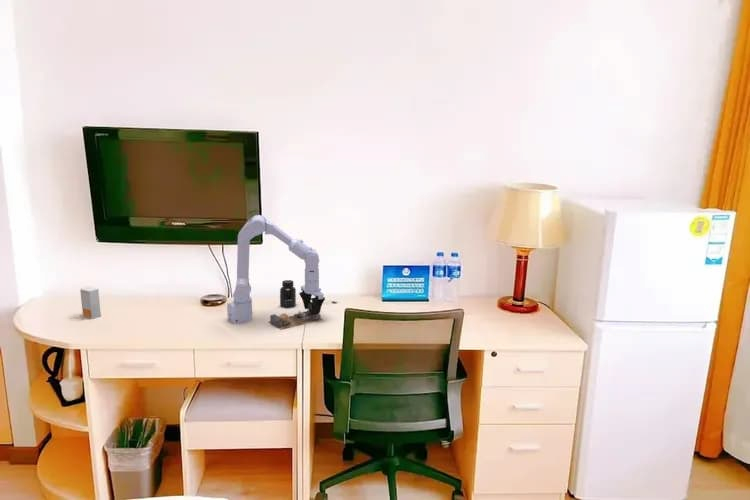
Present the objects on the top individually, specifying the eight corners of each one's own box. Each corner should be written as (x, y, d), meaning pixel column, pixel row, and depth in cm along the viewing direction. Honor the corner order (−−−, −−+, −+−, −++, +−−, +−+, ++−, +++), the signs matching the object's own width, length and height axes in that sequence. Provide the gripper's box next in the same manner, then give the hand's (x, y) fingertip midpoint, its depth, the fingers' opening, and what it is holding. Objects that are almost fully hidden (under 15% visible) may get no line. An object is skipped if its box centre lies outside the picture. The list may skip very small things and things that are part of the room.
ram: (303, 320, 227) (303, 306, 226) (298, 317, 230) (298, 304, 229) (318, 316, 232) (318, 303, 230) (313, 313, 235) (313, 300, 233)
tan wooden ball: (281, 325, 221) (281, 316, 220) (276, 322, 224) (276, 313, 224) (290, 323, 224) (290, 314, 223) (285, 320, 227) (285, 311, 226)
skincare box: (82, 316, 230) (79, 288, 228) (91, 313, 234) (89, 286, 231) (92, 319, 228) (89, 291, 225) (101, 316, 231) (98, 288, 228)
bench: (280, 332, 218) (280, 321, 217) (267, 323, 226) (267, 313, 225) (323, 321, 229) (323, 311, 228) (309, 314, 238) (308, 304, 237)
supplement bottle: (287, 311, 241) (287, 284, 238) (276, 307, 245) (276, 281, 242) (299, 307, 246) (298, 281, 243) (288, 304, 250) (287, 278, 247)
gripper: (329, 282, 225) (329, 314, 229) (310, 274, 236) (311, 304, 240) (315, 285, 221) (315, 317, 224) (296, 276, 232) (296, 307, 235)
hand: (312, 311), depth 232 cm, fingers open, 7 cm apart
